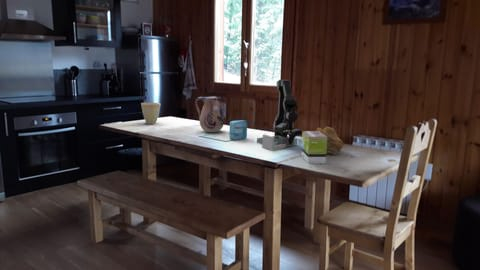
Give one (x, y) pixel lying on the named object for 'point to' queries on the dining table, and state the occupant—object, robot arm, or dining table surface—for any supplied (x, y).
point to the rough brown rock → (332, 140)
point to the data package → (238, 130)
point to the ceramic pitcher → (210, 114)
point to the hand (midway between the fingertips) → (287, 143)
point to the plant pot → (150, 112)
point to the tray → (260, 140)
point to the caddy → (287, 141)
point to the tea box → (314, 146)
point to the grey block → (271, 143)
